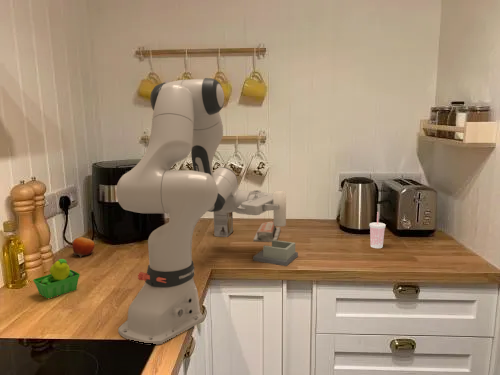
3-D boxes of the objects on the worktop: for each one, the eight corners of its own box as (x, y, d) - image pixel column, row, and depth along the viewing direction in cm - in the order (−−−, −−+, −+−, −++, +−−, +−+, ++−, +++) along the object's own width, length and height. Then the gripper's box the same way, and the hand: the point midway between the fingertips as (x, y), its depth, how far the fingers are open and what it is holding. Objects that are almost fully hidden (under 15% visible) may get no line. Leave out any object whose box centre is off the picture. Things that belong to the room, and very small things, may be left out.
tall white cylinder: (283, 227, 149) (283, 193, 146) (271, 225, 151) (271, 192, 148) (287, 223, 152) (287, 191, 150) (276, 222, 154) (276, 190, 152)
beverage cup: (382, 244, 169) (384, 210, 166) (386, 249, 163) (387, 213, 160) (367, 243, 169) (368, 209, 167) (370, 248, 163) (371, 213, 161)
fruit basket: (70, 283, 135) (66, 249, 133) (84, 290, 130) (81, 255, 128) (33, 295, 127) (29, 259, 125) (47, 303, 121) (43, 266, 119)
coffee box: (219, 230, 192) (218, 195, 189) (233, 231, 190) (232, 196, 187) (213, 236, 183) (212, 200, 180) (228, 237, 181) (227, 200, 178)
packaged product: (277, 232, 173) (252, 231, 174) (277, 243, 174) (253, 242, 175) (280, 220, 190) (258, 219, 192) (280, 230, 191) (258, 230, 193)
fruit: (63, 254, 159) (71, 233, 161) (79, 258, 165) (86, 239, 168) (78, 257, 155) (86, 236, 157) (94, 261, 162) (101, 241, 164)
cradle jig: (286, 266, 147) (286, 250, 146) (253, 260, 153) (253, 245, 152) (297, 256, 157) (297, 242, 156) (266, 251, 162) (266, 237, 161)
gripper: (233, 199, 146) (269, 203, 140) (259, 189, 164) (292, 192, 158) (233, 217, 148) (269, 221, 141) (259, 205, 165) (292, 208, 159)
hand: (282, 205), depth 150 cm, fingers closed on tall white cylinder, 4 cm apart
